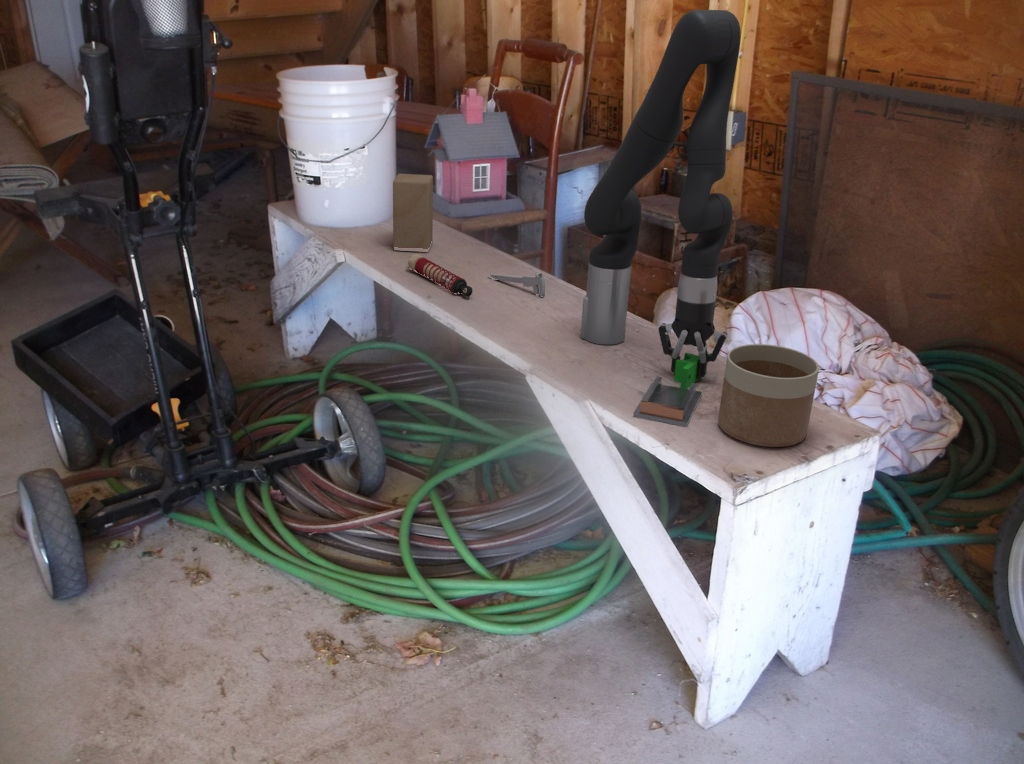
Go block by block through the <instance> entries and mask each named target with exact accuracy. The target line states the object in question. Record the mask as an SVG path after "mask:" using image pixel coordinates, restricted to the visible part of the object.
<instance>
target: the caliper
mask: <svg viewBox="0 0 1024 764" xmlns="http://www.w3.org/2000/svg"><path fill="white" fill-rule="evenodd" d="M489 276H491V277H493V278H495V279H498V280H501V281H500V282H507V283H515V284H516V283H517V284H522V285H523V286H522V287H524V288H525V287H527V288H529V287H532V289H533V292H534V295H535V294H539V295H540V296H544V297H546V296H545V295H546V282H545V280H546V279H545V278H544V277H543V272H540V273H539V272H536V273H535V276H534V275H523V276H516V275H508V274H506V275H505V274H495V273H492V274H489Z"/></svg>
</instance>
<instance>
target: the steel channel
mask: <svg viewBox="0 0 1024 764" xmlns="http://www.w3.org/2000/svg"><path fill="white" fill-rule="evenodd" d="M662 380H663V377H662V376H659V375H657V376H656V377H655V379H654V380H653V382H652V383H651V384H650V385H649V387H648V389H647V390H646V392H645V394H644V395H643V396H642V399H641V400H640V402H639V404H638V405H637V406H636V408H635V410H634V411H633V415H632V417H634V416H636V417H635V418H639V417H640V418H639V419H643V420H648V421H649V420H650V421H655V422H661V423H665V424H669V425H675V426H681V427H688V424H689V423H690V422H691V418H692V417H693V414H694V413H695V410H696V408H697V407H698V404H699V402H700V400H701V398H702V396H703V391H700V390H697V389H698V383H695V382H694V383H692V384H691V386H690V387H688V388H687V389H683V388H680V387H677V386H673V385H666V384H662Z"/></svg>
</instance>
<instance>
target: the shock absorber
mask: <svg viewBox="0 0 1024 764" xmlns="http://www.w3.org/2000/svg"><path fill="white" fill-rule="evenodd" d="M407 265H408V268H411V269H412V270H416V271H417V272H418V273H420V274H422V275H424V274H425V276H426V277H427V276H428V277H429V279H431V278H432V279H433V281H434V282H433V283H435V280H436V282H437V283H438V284H439V283H440V284H441V286H440V287H442V286H444V287H445V288H446V289H445V288H444V289H445V290H447V289H448V288H449V290H450V291H449V292H450V293H452V292H453V293H457V292H459V293H462V294H461V295H462V296H464V297H471V295H472V294H473V288H472V286H470V285H468V283H467V281H466V280H465V278H462V277H460V276H459V275H456V274H454V273H453V272H451V271H449V270H447V269H445V268H444V267H442V266H440V265H438V264H436V263H435V262H433V261H431V260H429V259H428V258H426V256H422V255H421V254H417V253H413V254H412V255H411V256H409V258H408V260H407ZM412 270H411V271H412ZM420 274H419V275H420ZM422 275H421V276H422ZM450 276H451V278H450ZM426 277H425V278H426ZM429 279H428V280H429ZM438 281H439V282H438ZM446 281H447V282H446ZM443 282H444V284H442V283H443ZM446 283H447V284H446ZM449 283H450V285H449ZM438 284H437V285H438ZM446 285H448V286H446ZM453 293H452V294H453Z"/></svg>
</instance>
